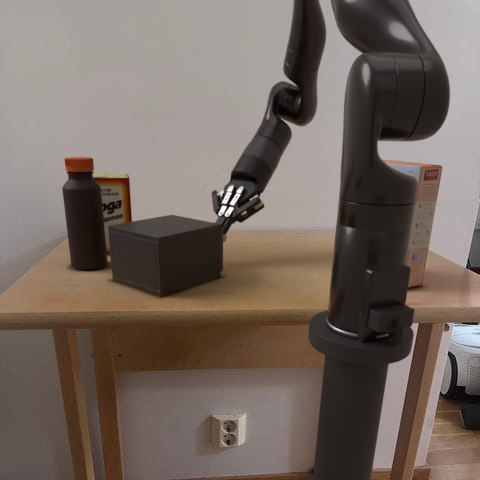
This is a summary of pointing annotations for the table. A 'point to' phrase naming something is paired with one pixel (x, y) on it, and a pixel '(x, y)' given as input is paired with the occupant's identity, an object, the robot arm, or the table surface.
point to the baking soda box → (114, 200)
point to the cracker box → (420, 214)
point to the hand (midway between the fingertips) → (216, 235)
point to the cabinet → (165, 253)
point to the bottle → (84, 215)
